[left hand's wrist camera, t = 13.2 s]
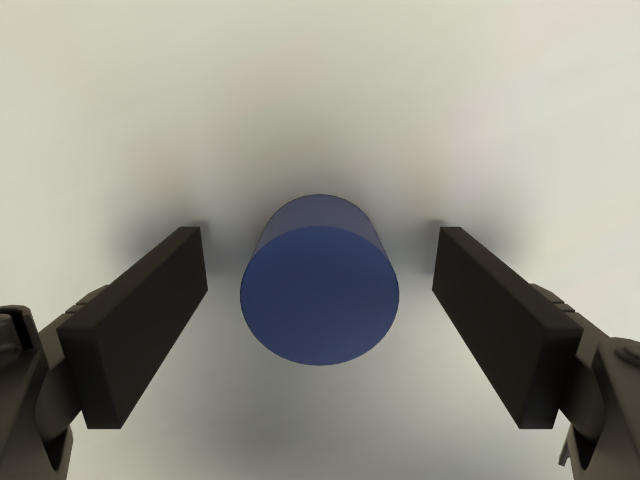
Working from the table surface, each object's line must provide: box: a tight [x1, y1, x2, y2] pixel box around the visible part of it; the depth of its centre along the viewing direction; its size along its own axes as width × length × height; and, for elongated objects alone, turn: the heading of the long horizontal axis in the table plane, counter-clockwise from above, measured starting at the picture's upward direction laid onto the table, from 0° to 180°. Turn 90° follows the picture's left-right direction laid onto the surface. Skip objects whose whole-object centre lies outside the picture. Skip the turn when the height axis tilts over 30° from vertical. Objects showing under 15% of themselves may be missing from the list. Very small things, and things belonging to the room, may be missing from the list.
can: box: [240, 195, 399, 366], centre depth 13 cm, size 5×5×4 cm
